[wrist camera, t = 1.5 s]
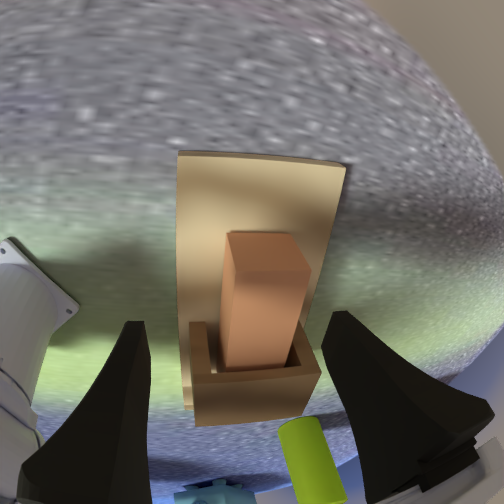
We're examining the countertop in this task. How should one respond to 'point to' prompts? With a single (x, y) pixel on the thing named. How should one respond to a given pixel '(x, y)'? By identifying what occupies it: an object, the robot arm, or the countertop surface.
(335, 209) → the board
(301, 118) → the countertop surface
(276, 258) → the block
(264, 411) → the tunnel
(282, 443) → the soap dispenser
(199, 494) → the teapot
